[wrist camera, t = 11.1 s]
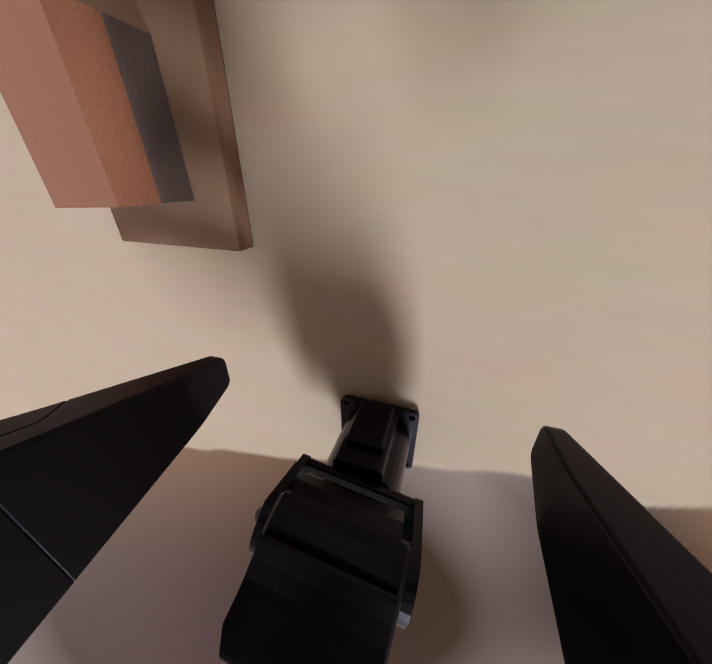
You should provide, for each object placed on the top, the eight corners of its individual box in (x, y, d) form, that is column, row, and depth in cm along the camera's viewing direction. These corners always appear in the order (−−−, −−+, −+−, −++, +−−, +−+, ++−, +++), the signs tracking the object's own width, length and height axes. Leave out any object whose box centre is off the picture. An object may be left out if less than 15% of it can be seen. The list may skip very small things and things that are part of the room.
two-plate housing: (150, 34, 15) (31, -21, 11) (194, 200, 19) (118, 207, 15) (86, 49, 17) (-40, 7, 12) (139, 201, 20) (55, 207, 16)
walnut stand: (253, 246, 21) (239, 251, 20) (140, 237, 24) (122, 240, 23) (206, -43, 14) (181, -65, 13) (57, -6, 17) (25, -20, 16)
